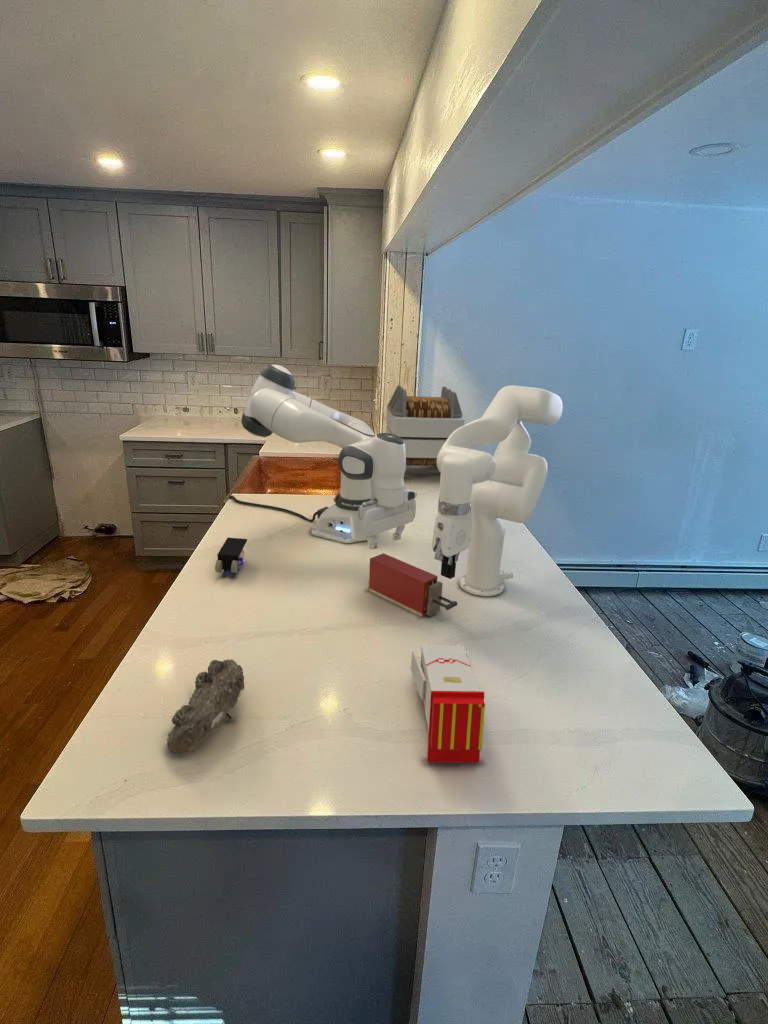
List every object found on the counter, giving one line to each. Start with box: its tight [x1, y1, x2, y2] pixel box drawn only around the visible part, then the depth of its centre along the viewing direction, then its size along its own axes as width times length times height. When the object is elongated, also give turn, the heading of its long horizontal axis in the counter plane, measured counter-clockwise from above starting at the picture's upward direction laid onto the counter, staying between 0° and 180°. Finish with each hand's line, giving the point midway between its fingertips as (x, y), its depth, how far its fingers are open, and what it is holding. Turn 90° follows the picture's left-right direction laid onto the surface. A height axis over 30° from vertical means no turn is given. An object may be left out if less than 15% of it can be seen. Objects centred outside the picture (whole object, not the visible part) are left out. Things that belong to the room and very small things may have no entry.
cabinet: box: [368, 552, 439, 618], centre depth 153 cm, size 19×6×10 cm, turn 47°
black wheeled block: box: [214, 537, 248, 578], centre depth 166 cm, size 7×8×15 cm
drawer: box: [424, 580, 458, 617], centre depth 150 cm, size 24×4×8 cm, turn 47°
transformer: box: [385, 384, 465, 467], centre depth 268 cm, size 34×33×41 cm
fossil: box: [166, 658, 245, 754], centre depth 106 cm, size 22×10×15 cm
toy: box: [410, 644, 486, 764], centre depth 111 cm, size 12×13×30 cm
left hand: (385, 544), depth 154 cm, fingers open, 8 cm apart
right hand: (447, 576), depth 141 cm, fingers closed
